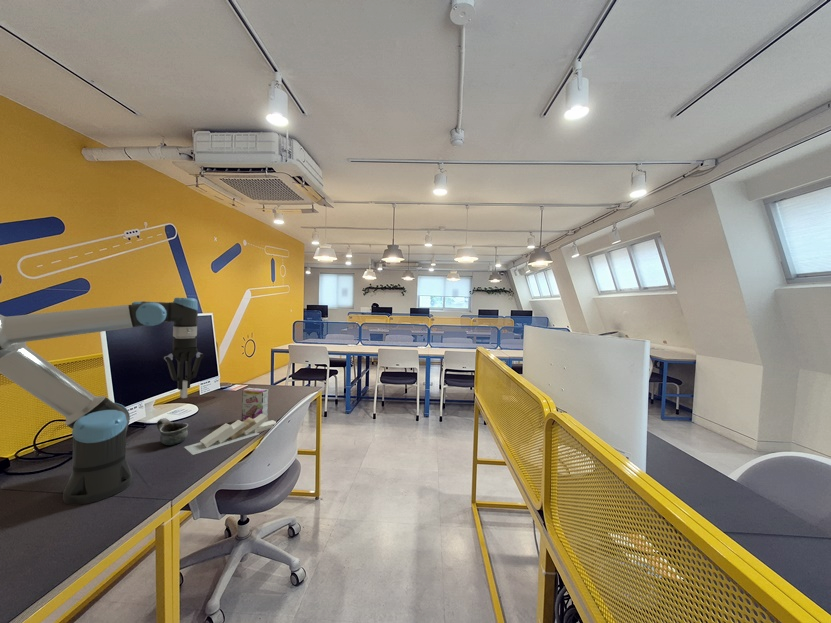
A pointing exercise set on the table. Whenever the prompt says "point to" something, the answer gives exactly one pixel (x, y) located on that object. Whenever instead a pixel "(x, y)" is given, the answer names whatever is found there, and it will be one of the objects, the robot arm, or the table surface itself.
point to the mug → (172, 431)
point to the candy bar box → (254, 403)
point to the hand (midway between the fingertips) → (183, 397)
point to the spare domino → (248, 423)
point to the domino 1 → (216, 435)
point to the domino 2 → (236, 428)
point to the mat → (216, 444)
